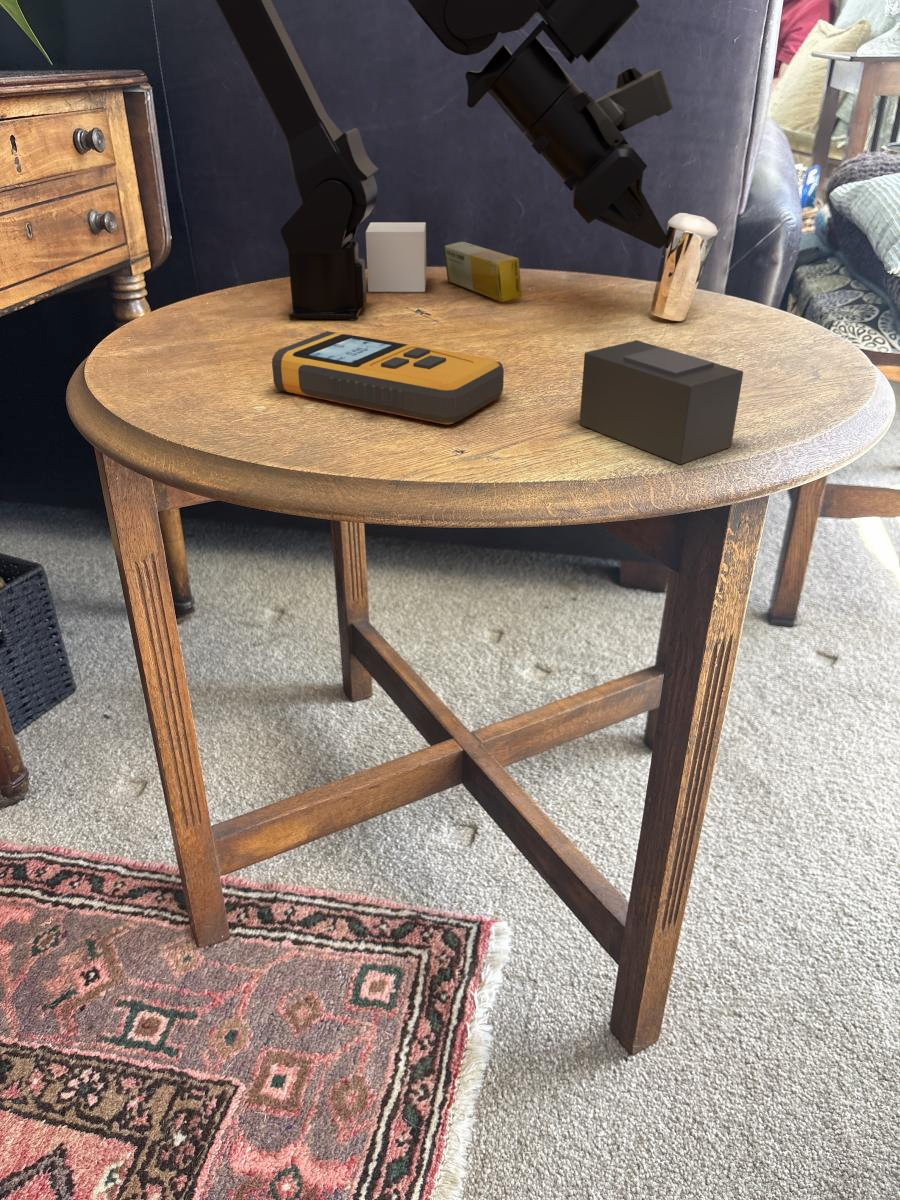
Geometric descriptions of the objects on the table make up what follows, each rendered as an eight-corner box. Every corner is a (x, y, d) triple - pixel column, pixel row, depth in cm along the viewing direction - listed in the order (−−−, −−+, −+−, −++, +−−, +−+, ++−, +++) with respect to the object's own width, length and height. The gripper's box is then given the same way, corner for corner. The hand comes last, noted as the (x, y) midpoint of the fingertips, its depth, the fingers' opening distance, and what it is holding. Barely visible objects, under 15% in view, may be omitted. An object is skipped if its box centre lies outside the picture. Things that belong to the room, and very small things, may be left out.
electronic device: (451, 435, 63) (451, 387, 61) (270, 395, 70) (266, 350, 68) (509, 399, 69) (510, 354, 68) (337, 365, 76) (335, 323, 74)
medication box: (445, 283, 103) (441, 245, 101) (467, 278, 104) (463, 240, 102) (500, 303, 94) (497, 261, 92) (523, 297, 95) (521, 256, 92)
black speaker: (584, 348, 62) (691, 382, 55) (637, 336, 64) (744, 367, 58) (578, 424, 64) (680, 465, 58) (629, 410, 67) (731, 447, 61)
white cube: (368, 292, 99) (365, 231, 96) (372, 279, 104) (370, 222, 101) (425, 291, 99) (424, 231, 96) (426, 279, 104) (425, 222, 101)
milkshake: (700, 328, 87) (735, 214, 82) (643, 315, 87) (674, 201, 82) (698, 318, 91) (731, 209, 86) (644, 306, 91) (673, 197, 86)
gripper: (629, 28, 70) (757, 190, 74) (613, 31, 86) (719, 165, 90) (519, 145, 74) (646, 291, 79) (524, 128, 90) (629, 250, 95)
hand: (663, 244), depth 86 cm, fingers closed
